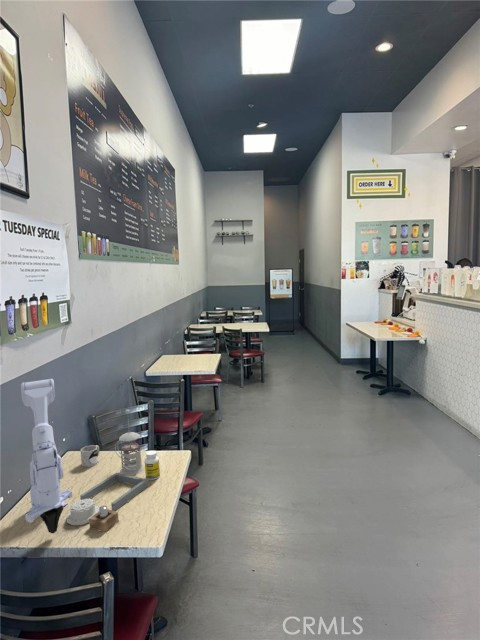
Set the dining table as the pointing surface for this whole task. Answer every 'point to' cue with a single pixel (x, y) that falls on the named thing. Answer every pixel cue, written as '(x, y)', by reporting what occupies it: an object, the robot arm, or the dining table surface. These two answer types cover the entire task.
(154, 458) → the supplement bottle
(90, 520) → the hollow wooden square
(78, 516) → the mechanical component
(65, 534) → the dining table surface
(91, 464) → the mug
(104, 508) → the pin
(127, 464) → the french press
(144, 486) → the grey u-shaped bracket
